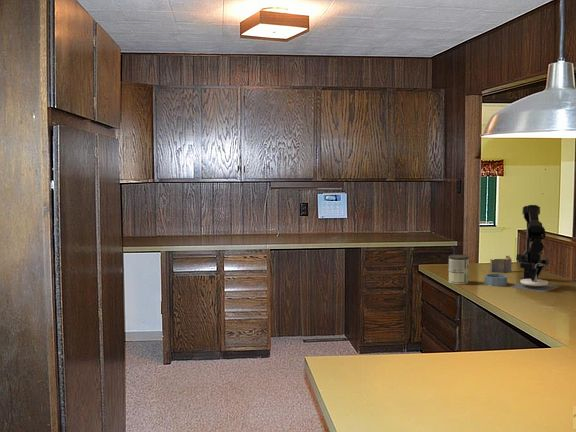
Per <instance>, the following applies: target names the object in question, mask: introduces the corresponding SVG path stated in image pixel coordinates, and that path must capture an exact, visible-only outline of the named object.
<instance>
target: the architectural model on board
mask: <svg viewBox="0 0 576 432" xmlns="http://www.w3.org/2000/svg"><path fill="white" fill-rule="evenodd" d="M512 261H513V260H512V258H511V256H510V255H505V258H494V259H491V258H490V261H489V263H490V264H489V265H490V266H489V272H490V273H512V267H513V266H512V264H513V263H512Z"/></svg>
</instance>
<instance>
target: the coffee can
mask: <svg viewBox="0 0 576 432" xmlns="http://www.w3.org/2000/svg"><path fill="white" fill-rule="evenodd" d="M469 258H470V257H469V255H465V254H449V255H448V283H450V284H453V285H465V284H466V285H467V284H469Z"/></svg>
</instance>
